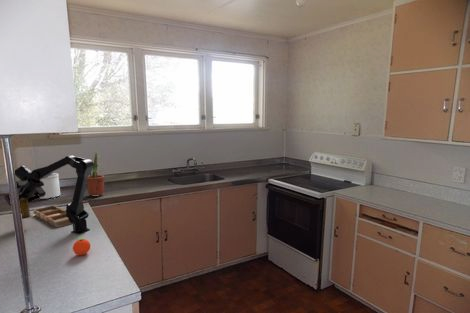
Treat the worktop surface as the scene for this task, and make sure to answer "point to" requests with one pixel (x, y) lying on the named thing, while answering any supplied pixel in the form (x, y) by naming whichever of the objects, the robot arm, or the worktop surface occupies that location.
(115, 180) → the worktop surface
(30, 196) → the robot arm
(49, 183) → the utensil holder
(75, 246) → the clementine
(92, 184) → the potted plant
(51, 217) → the tray
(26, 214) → the condiment
